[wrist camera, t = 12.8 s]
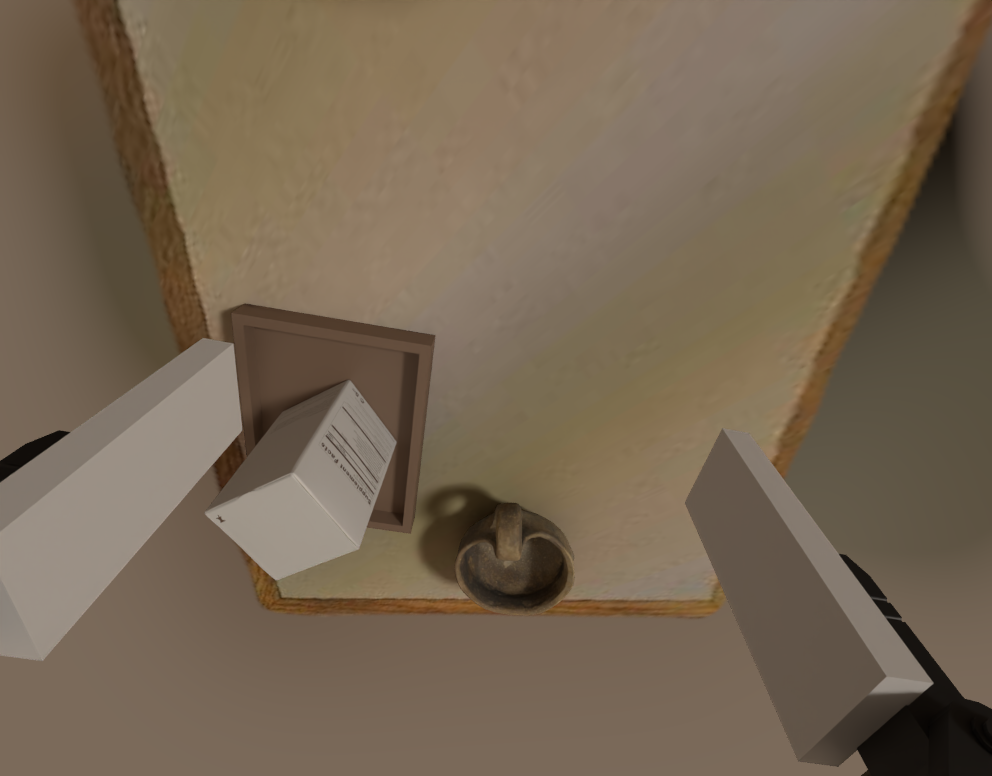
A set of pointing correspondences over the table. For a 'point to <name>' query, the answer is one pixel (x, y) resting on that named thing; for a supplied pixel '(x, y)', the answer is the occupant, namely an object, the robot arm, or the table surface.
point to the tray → (326, 363)
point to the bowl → (515, 562)
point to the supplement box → (308, 483)
